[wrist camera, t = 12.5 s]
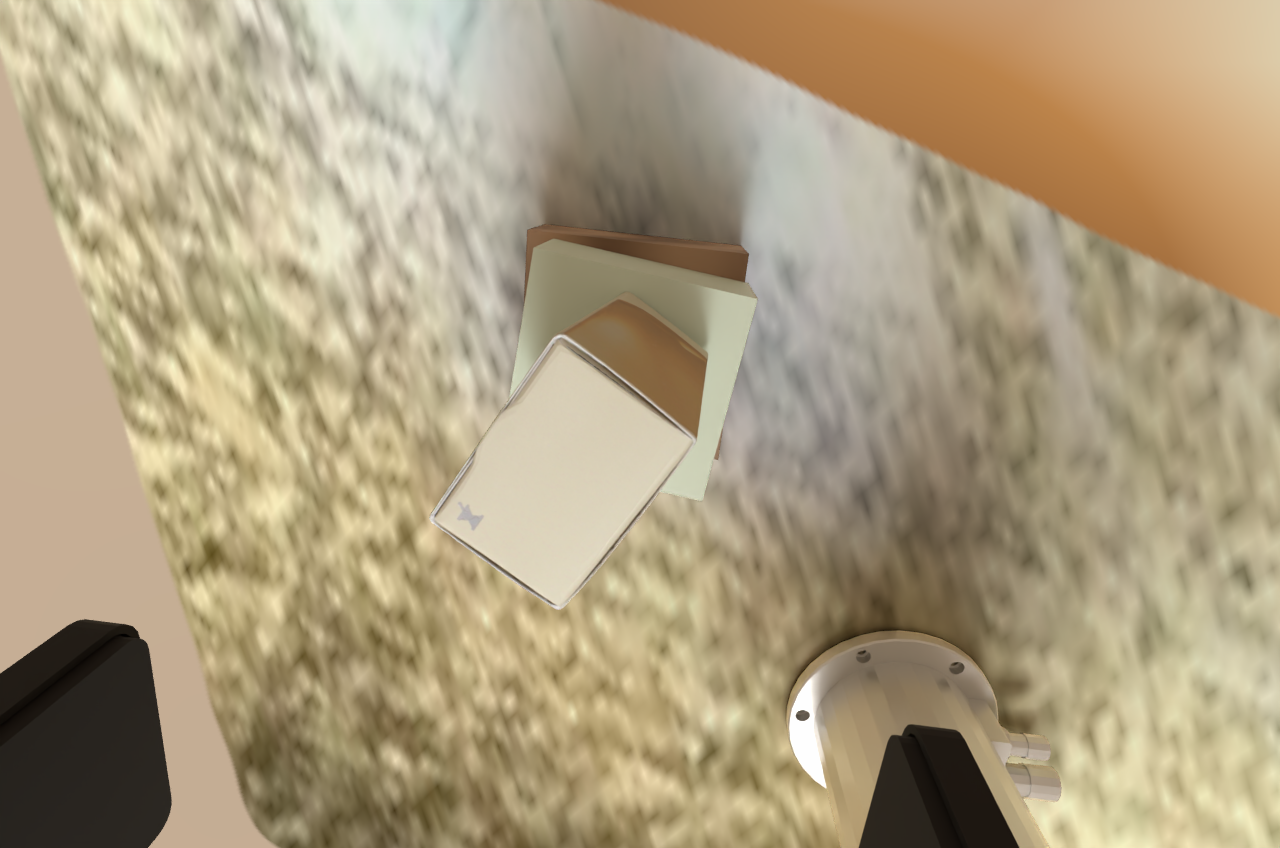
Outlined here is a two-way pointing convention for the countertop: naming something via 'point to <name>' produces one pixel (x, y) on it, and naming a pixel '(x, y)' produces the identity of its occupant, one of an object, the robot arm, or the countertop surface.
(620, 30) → the countertop surface
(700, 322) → the tower top
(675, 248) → the tower bottom
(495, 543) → the skincare box
